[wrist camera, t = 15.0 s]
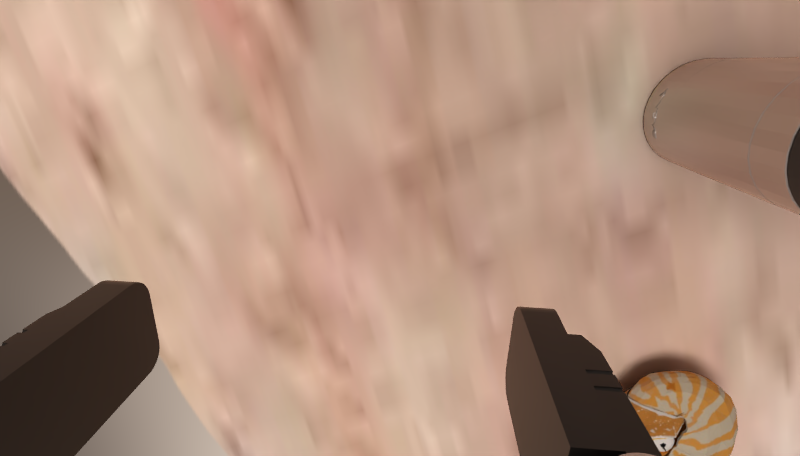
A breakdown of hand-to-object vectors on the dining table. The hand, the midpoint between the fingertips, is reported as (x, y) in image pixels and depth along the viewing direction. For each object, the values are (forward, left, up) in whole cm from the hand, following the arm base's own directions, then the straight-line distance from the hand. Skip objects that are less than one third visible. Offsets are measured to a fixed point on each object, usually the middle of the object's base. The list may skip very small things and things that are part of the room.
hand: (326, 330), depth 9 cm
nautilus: (-26, +33, -34) cm, 54 cm away
